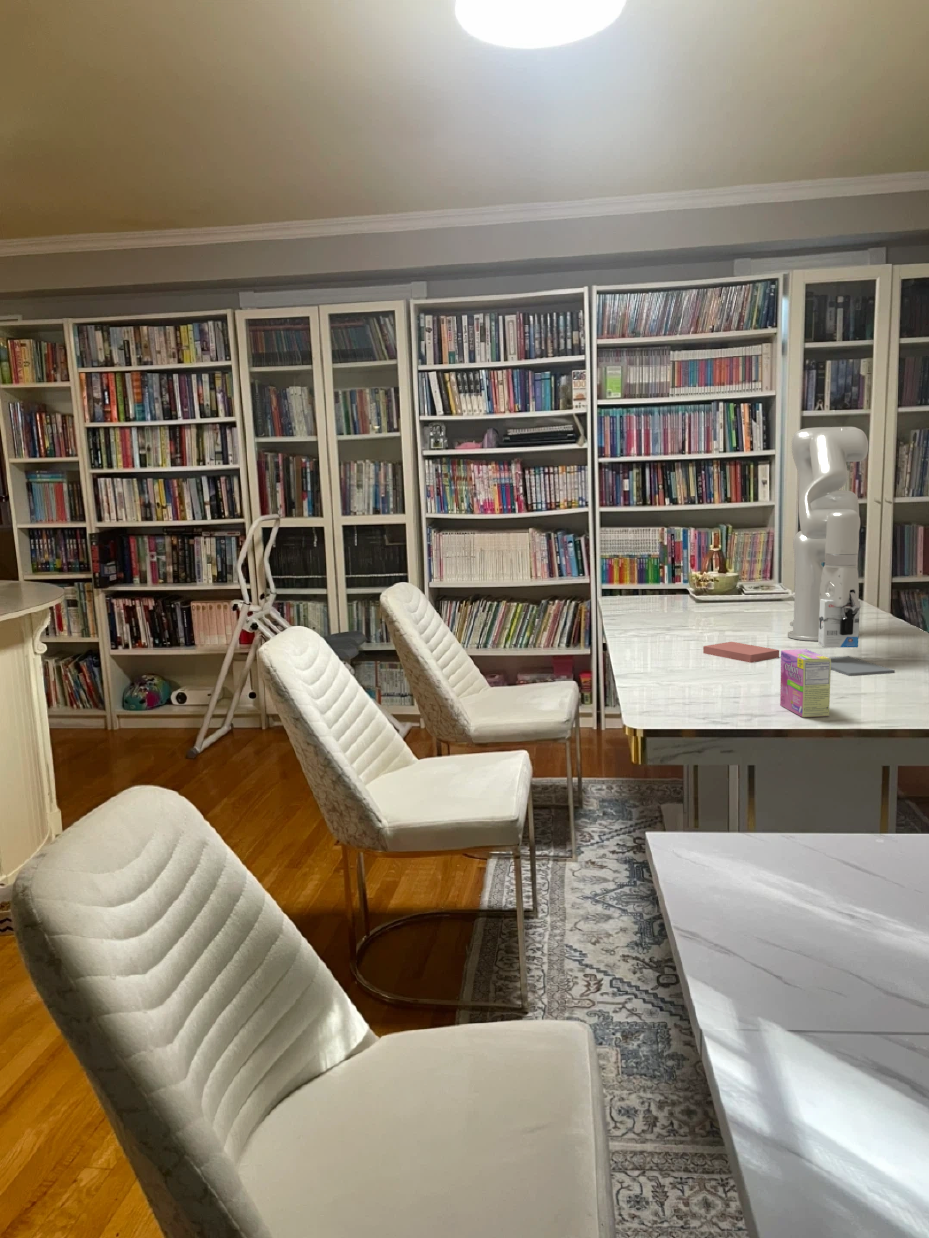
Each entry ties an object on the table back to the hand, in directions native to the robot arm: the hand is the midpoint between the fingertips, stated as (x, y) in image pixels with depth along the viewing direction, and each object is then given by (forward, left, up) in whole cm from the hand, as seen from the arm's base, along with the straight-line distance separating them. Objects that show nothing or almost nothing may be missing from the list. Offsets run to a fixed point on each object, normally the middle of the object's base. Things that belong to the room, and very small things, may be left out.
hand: (838, 631), depth 226 cm
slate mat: (+5, 0, -8) cm, 9 cm away
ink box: (0, 0, -4) cm, 4 cm away
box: (+40, -34, -8) cm, 53 cm away
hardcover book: (-16, -18, -8) cm, 25 cm away
